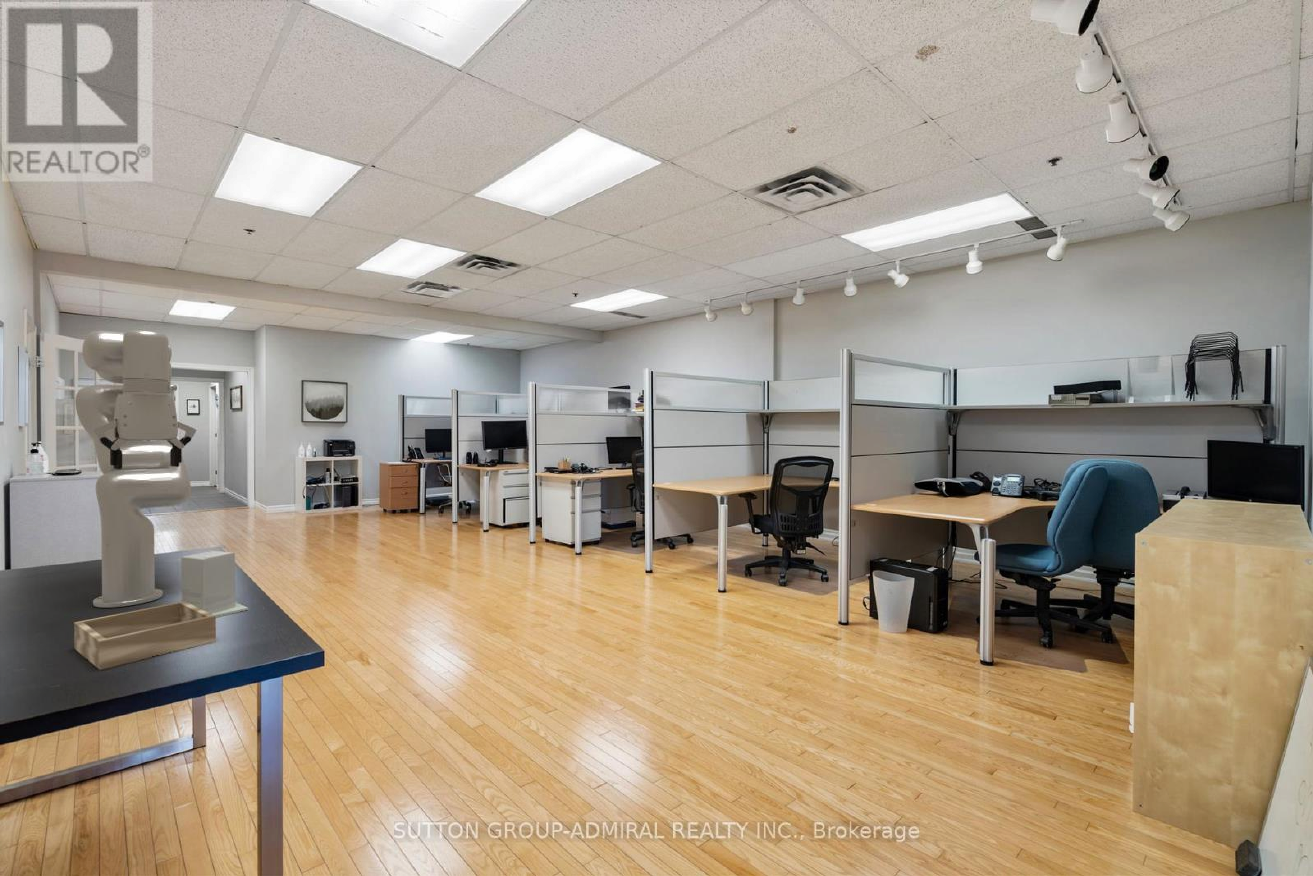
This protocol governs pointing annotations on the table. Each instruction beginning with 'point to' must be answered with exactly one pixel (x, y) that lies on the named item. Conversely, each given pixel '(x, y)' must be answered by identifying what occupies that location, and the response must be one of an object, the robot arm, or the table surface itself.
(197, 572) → the supplement box
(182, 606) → the crate
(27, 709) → the table surface
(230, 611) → the mat
